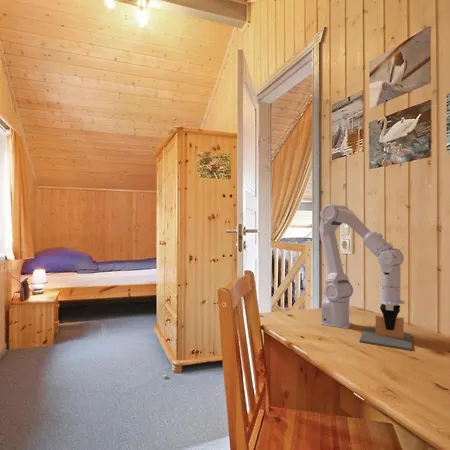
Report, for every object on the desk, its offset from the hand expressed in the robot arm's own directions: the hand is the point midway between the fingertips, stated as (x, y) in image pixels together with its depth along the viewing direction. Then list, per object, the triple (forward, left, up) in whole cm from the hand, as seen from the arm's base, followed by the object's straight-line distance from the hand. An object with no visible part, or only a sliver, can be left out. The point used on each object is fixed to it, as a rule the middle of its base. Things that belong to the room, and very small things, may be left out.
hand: (390, 328), depth 106 cm
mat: (-1, -2, -3) cm, 4 cm away
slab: (0, 0, -2) cm, 2 cm away
